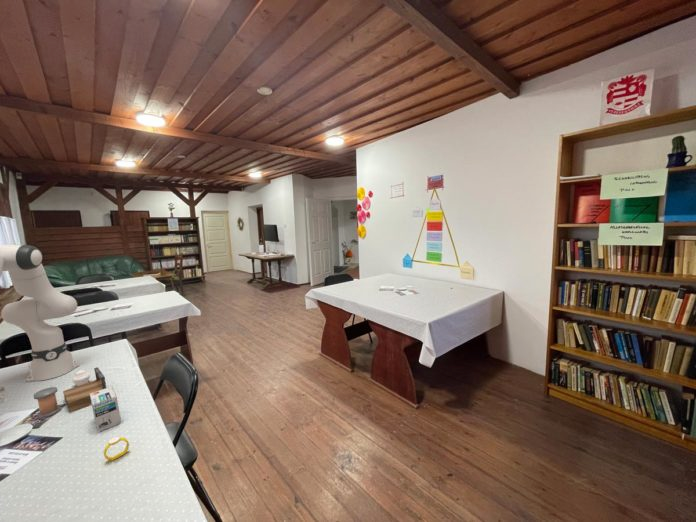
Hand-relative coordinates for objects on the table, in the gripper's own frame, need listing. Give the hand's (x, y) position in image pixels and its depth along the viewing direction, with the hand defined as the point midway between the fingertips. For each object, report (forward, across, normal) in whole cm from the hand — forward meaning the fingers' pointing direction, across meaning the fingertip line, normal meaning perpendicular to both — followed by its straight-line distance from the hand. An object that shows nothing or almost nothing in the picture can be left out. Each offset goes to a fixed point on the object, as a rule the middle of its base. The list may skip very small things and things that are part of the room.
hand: (4, 394), depth 103 cm
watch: (+24, -50, -6) cm, 56 cm away
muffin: (+25, +17, -6) cm, 31 cm away
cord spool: (+16, 0, +2) cm, 16 cm away
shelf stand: (+24, 0, -6) cm, 24 cm away
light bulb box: (+25, -26, -7) cm, 37 cm away
